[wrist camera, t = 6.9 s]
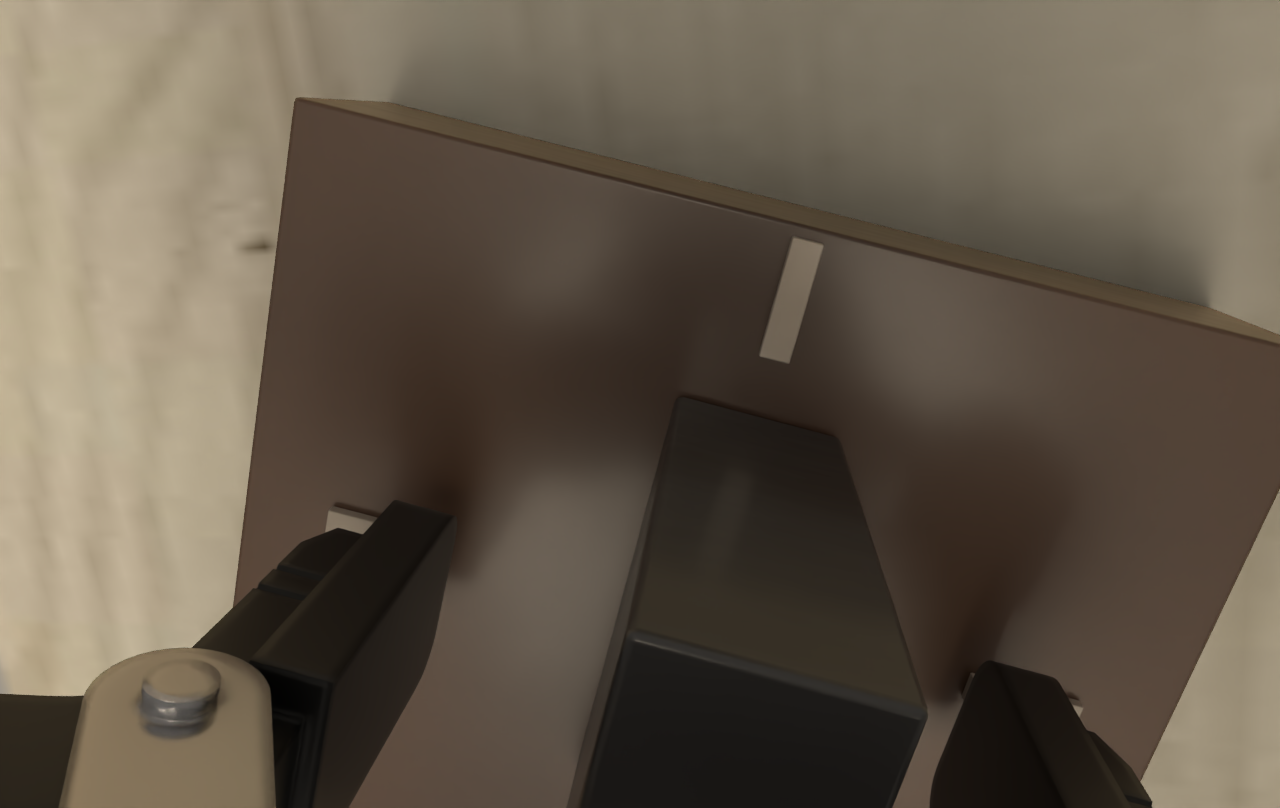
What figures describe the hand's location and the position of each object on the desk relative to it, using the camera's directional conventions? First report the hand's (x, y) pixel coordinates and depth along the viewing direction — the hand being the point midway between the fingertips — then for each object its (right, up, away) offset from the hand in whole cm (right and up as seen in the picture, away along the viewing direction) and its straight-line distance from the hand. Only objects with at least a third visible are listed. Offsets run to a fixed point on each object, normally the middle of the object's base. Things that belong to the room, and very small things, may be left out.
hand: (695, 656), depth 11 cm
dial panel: (0, +1, +4) cm, 4 cm away
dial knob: (0, 0, +1) cm, 1 cm away
